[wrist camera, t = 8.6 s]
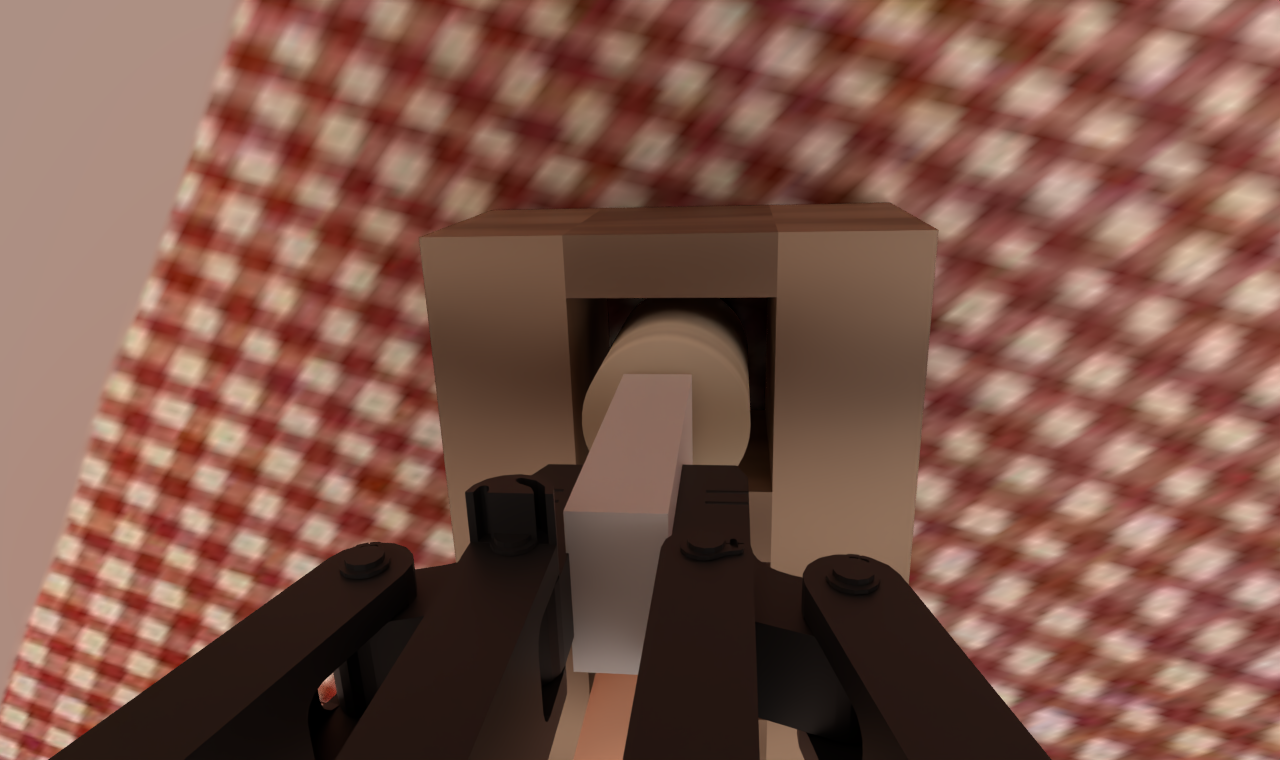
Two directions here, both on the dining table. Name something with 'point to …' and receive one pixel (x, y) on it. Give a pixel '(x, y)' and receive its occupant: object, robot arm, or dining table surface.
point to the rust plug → (607, 717)
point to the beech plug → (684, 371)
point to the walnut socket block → (697, 268)
